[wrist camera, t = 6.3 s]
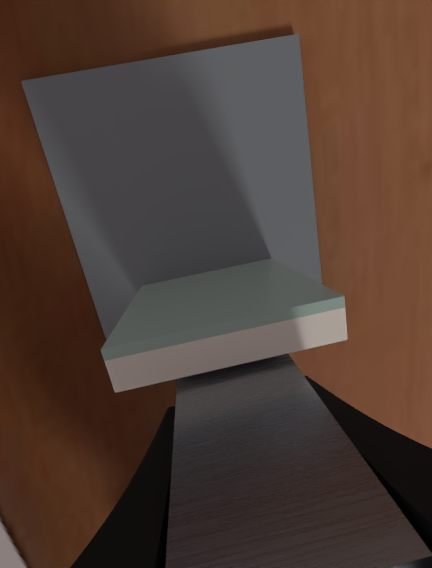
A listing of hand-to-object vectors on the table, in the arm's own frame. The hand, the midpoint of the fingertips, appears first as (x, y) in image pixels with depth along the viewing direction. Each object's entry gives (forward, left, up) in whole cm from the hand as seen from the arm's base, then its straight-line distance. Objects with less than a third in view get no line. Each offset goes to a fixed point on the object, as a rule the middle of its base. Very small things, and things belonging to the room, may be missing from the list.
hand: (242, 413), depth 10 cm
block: (0, 0, -3) cm, 3 cm away
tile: (+2, +2, -8) cm, 8 cm away
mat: (+6, +6, -8) cm, 11 cm away
